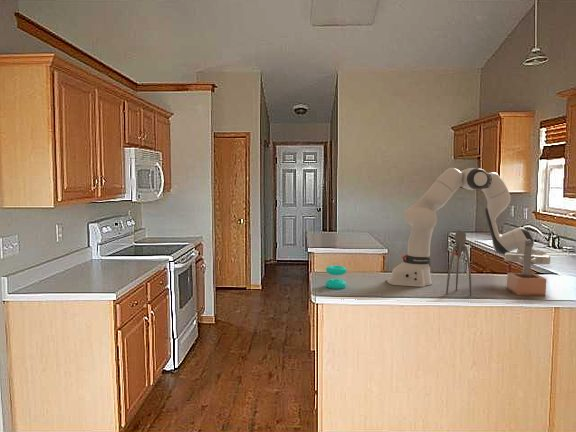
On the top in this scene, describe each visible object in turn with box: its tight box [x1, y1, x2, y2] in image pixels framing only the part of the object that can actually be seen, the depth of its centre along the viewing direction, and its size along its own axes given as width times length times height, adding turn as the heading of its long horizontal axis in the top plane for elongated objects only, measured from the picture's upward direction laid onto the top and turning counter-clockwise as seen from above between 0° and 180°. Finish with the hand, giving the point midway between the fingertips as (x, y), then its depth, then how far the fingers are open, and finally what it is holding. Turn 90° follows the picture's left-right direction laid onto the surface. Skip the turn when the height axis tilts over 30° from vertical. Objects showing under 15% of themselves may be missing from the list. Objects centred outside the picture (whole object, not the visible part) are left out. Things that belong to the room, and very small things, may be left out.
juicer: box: [445, 229, 472, 297], centre depth 246 cm, size 10×11×30 cm
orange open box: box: [506, 272, 547, 297], centre depth 249 cm, size 13×13×8 cm
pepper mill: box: [522, 239, 532, 278], centre depth 248 cm, size 5×5×23 cm
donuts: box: [325, 265, 348, 290], centre depth 255 cm, size 10×10×10 cm
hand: (527, 260), depth 247 cm, fingers closed on pepper mill, 3 cm apart
